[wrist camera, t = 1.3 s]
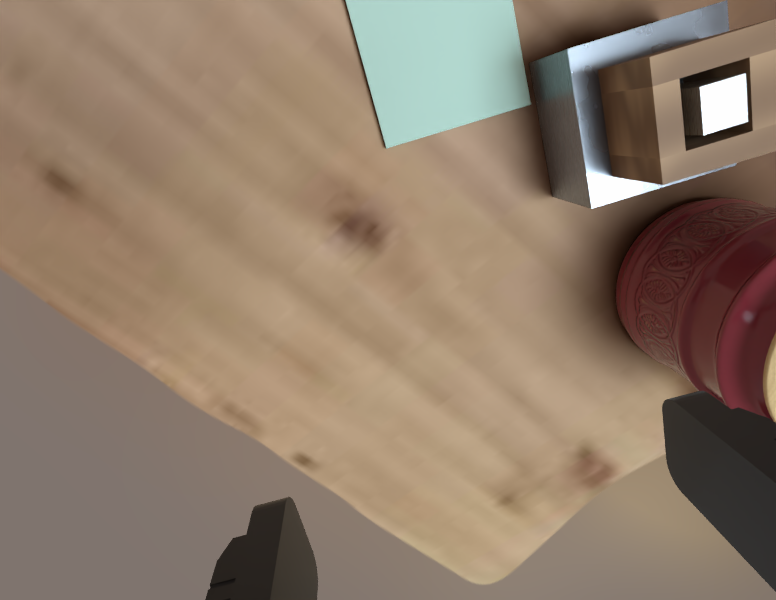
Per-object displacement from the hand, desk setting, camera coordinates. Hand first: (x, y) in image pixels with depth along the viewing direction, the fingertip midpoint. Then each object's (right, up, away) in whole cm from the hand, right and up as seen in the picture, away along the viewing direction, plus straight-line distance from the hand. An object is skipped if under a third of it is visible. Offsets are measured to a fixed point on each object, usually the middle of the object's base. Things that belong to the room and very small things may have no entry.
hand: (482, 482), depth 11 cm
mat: (+1, +20, +22) cm, 30 cm away
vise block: (+13, +17, +24) cm, 32 cm away
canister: (+21, +5, +29) cm, 36 cm away
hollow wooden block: (+13, +15, +18) cm, 27 cm away
